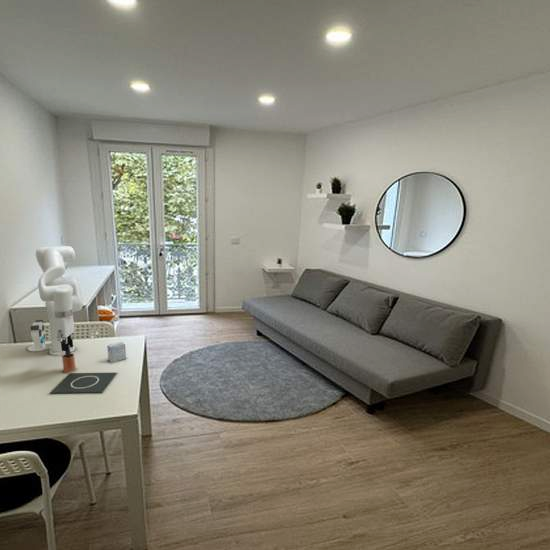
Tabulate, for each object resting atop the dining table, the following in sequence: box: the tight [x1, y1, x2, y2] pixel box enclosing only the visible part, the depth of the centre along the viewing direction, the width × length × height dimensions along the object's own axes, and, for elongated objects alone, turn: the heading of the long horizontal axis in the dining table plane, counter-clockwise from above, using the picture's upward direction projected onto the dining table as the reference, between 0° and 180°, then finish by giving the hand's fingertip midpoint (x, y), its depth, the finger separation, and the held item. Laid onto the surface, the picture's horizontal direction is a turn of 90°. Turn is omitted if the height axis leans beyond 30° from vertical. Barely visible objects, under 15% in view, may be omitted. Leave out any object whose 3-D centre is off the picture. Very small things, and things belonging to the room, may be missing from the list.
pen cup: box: [61, 353, 76, 373], centre depth 176 cm, size 5×5×8 cm
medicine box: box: [106, 341, 127, 363], centre depth 189 cm, size 8×4×9 cm, turn 134°
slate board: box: [49, 372, 117, 395], centre depth 165 cm, size 22×18×1 cm
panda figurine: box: [27, 319, 51, 352], centre depth 201 cm, size 12×11×15 cm
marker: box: [64, 345, 72, 358], centre depth 175 cm, size 2×2×13 cm
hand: (67, 348), depth 174 cm, fingers open, 3 cm apart
